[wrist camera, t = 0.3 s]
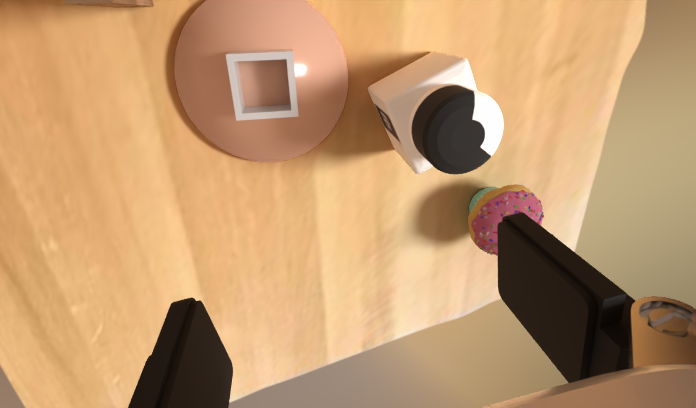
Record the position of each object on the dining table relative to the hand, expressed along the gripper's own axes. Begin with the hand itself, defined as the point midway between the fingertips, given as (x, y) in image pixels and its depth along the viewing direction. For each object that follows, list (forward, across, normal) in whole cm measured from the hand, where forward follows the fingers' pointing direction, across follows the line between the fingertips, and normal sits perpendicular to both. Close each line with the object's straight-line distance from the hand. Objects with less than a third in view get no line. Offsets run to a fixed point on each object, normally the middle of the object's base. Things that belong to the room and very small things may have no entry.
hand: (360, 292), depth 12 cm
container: (+30, -11, +2) cm, 32 cm away
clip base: (+30, +3, -3) cm, 30 cm away
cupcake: (+30, -19, +17) cm, 39 cm away
